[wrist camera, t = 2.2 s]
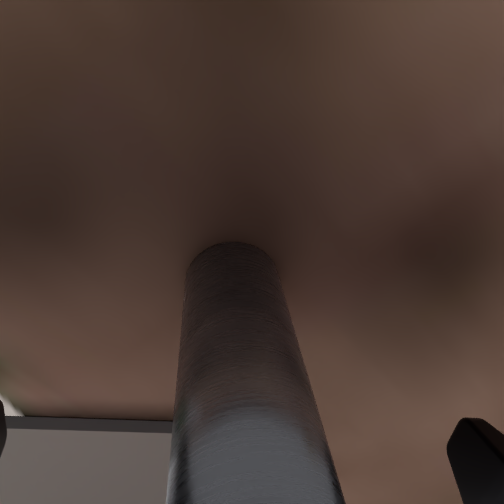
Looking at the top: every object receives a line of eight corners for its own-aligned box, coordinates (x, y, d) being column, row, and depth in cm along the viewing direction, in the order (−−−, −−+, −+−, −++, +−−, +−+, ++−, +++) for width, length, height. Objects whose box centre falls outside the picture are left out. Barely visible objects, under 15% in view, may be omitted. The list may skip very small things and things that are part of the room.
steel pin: (286, 247, 12) (436, 650, 4) (269, 324, 13) (360, 747, 5) (189, 237, 12) (153, 666, 4) (181, 318, 13) (141, 768, 5)
